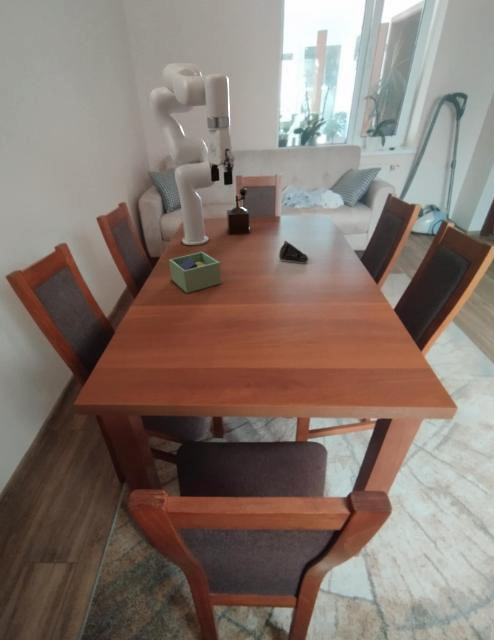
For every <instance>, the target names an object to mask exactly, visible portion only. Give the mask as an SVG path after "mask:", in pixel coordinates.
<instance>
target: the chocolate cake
mask: <svg viewBox="0 0 494 640" xmlns="http://www.w3.org/2000/svg"><path fill="white" fill-rule="evenodd" d="M278 258H279V261H280V262H286V263H294V264H302V265H304V264H307V263H308V261H309V257H308V255H307V254H305V253H303V252H302V251H301V250H300V249H299V248H297V247H295V245H293V244H291V243H290V242H289V241H288V240H287V241H286V240H284V242H283V245H282V246H281V247H280V250H279V254H278Z"/></svg>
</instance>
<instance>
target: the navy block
mask: <svg viewBox="0 0 494 640" xmlns="http://www.w3.org/2000/svg"><path fill="white" fill-rule="evenodd" d="M179 266H180V267H182V268H183V269H184V270H188V269H192V268H196V267H197V265H196V264H195V263H194V262H193V261H192V260H191V259H190V258H189V257H188V258H187V259H186V260H185V261H184V262H183V263H182V264H180V265H179Z"/></svg>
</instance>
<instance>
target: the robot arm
mask: <svg viewBox="0 0 494 640" xmlns="http://www.w3.org/2000/svg"><path fill="white" fill-rule="evenodd" d="M162 82H163V84H164V86H159V87H156V88H154V89H153V90H151V91H150V94H149V107H150V111H151V114H152V117H153V120H154V121H155V123H156V125H157V127H158V128H159V130H160V132H161V134H162V135H163V138H164V141H165V144H166V147H167V150H168V153H169V154H170V158H171V160H172V161H173V163H174V164H175V165H176V166H178V167H177V168H176V169H175V171H174V179H175V183H176V187H177V190H178V195H179V202H180V209H181V215H182V216H181V217H182V224H183V234H184V237H183V238H182V239H181V242H182V244H183V245H187V246H200V245H205V244H207V243H208V242H209V237H208V236H207V235H206V233H205V223H204V222H205V220H204V212H203V211H204V210H203V209H204V208H203V202H202V201H203V200H202V197H201V196H200V195H199V194H198V192H197V191H196V190H199V189H205V188H210V187H212V186H214V185H215V182H219V181H220V179H221V178H220V168H219V166H222V169H223V185H224V186H231V185H233V183H234V182H233V181H234V180H233V179H234V178H233V171H234V166H235V164H234V163H235V156H234V155H233V150H232V148H233V147H232V138H231V137H232V136H231V131H230V130H231V116H230V111H231V110H230V88H229V87H230V84H229V77H228V75H227V74H224V73H212V74H207V75H202V72H201V69H200V68H199V66H198V65H197V64H195V63H194V62H170V63H169V64H167V65H166V66H165V67H164V69H163V71H162ZM201 106H202V107H203V106H205V108H206V109H205V111H206V125H207V135H206V136H207V137H206V138H207V139H206V142H207V143H205V141H204V140H203V139H202V138H201V137H198V136H191V137H187V136H186V135H185V133H184V129H183V127H182V125H181V124H180V123H179V122H178V120H177V119H176V118H175V117H174V116H172V115H171V114H185V113H186V114H187V113H190V112H191V111H192V110H193V109H194V107H201ZM206 144H207V145H206Z"/></svg>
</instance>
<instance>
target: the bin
mask: <svg viewBox="0 0 494 640" xmlns="http://www.w3.org/2000/svg"><path fill="white" fill-rule="evenodd" d="M188 257H189V258H190V259H191V260H192V261H193V262H194V263H196V262H200V261H201V262H202V263H203V264H205V265H204V266H200V267H196V268H192V269H188V270H184V269H183V268H182V267H180V266H179V265H180V264H182V263H183V262H184V261H185V260H186V259H187V258H188ZM168 263H169V270H170V275H171V280H172V281H173V283H175V284H176V285H177V286H178V287H179V288H180V289H182V291H184V292H185V293H186V294H188V293H192V292H196V291H200V290H203V289H207V288H209V287H210V288H211V287H213V286H216V285H221V284H222V277H221V276H222V275H221V262H220V261H218V260H217V259H215V258H214V257H212V256H210V255H209V254H207V253H206V252H204V251H199V252H195V253H190V254H188V255H187V254H186V255H181V256H177V257H174V258H170V259H168Z"/></svg>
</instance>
